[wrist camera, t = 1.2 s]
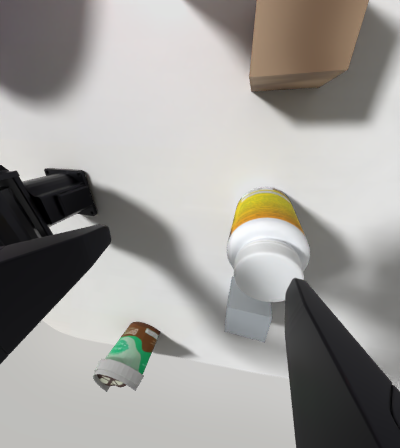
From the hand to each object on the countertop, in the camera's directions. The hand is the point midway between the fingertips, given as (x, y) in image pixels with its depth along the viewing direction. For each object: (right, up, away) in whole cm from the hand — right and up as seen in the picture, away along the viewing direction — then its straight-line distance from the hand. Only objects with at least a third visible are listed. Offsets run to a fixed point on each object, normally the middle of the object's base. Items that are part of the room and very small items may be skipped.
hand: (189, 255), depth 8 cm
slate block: (+7, -8, +17) cm, 21 cm away
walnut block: (+7, +14, +5) cm, 17 cm away
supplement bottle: (+7, +3, +11) cm, 13 cm away
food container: (-13, -22, +32) cm, 41 cm away
